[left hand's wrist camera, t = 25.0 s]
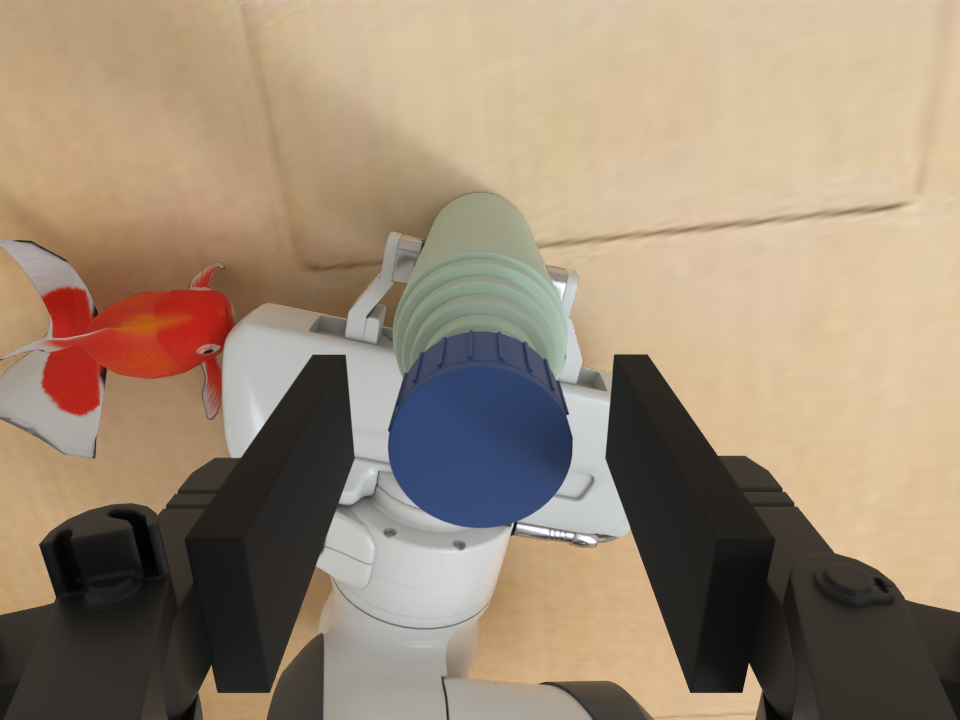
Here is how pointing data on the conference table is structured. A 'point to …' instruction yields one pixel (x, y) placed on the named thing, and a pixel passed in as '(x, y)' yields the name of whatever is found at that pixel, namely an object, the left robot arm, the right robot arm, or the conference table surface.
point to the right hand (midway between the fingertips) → (483, 253)
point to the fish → (106, 348)
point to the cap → (480, 431)
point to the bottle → (480, 283)
